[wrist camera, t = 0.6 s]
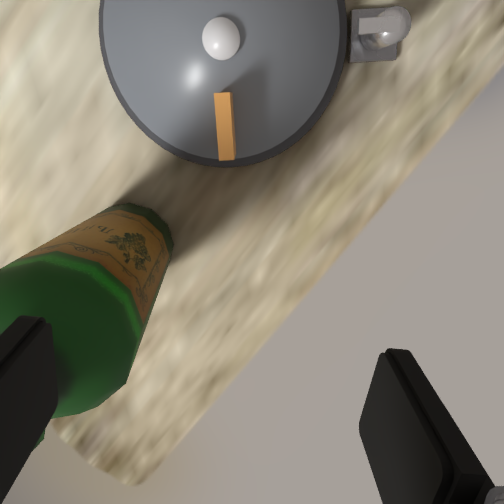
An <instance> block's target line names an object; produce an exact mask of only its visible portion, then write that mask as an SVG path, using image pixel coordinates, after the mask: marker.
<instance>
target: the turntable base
mask: <svg viewBox="0 0 504 504" xmlns="http://www.w3.org/2000/svg"><path fill="white" fill-rule="evenodd" d="M104 2H105V0H100V8H99V37H100V46H101V52H102V56H103V61H104V65H105V69H106V72H107V74H108V77H109V80H110V83H111V85H112V87H113V89H114V91H115V93H116V96H117V98H118V100H119V101H120V103H121V104H122V106H123V107H124V109H125V111H126V112H127V114H128V115H129V116H130V117H131V119H132V120H133V121H134V122H135V124H136V125H137V126H138V127H139V128H140V129H141V130H142V131H143V132H144V133H145V134H146V135H147V136H148V137H149V138H150V139H152V140H153V141H154V142H156V143H157V144H158V145H160V146H161V147H162V148H164V149H166V150H167V151H169V152H171V153H173V154H174V155H176V156H179V157H181V158H183V159H186V160H188V161H191V162H195V163H198V164H202V165H207V166H214V167H238V166H246V165H250V164H254V163H258V162H261V161H264V160H266V159H269V158H271V157H274V156H276V155H277V154H279V153H281V152H283V151H285V150H286V149H288V148H289V147H290V146H292V145H293V144H295V143H296V142H297V141H299V140H300V139H301V138H302V137H303V136H304V135H305V134H306V133H307V132H308V131H309V130H310V129H311V128H312V127H313V125H314V124H315V123H316V122H317V120H318V119H319V118H320V117H321V115H322V113H323V112H324V110H325V109H326V107H327V106H328V104H329V102H330V100H331V98H332V96H333V94H334V92H335V89H336V87H337V84H338V81H339V78H340V75H341V72H342V68H343V63H344V59H345V54H346V43H347V15H346V8H345V1H344V0H337V4H338V11H339V27H340V35H339V47H338V54H337V59H336V64H335V68H334V71H333V74H332V77H331V80H330V83H329V85H328V87H327V90H326V92H325V94H324V96H323V98H322V100H321V101H320V103H319V104H318V106H317V108H316V109H315V111H314V112H313V113H312V115H311V116H310V117H309V118H308V120H307V121H306V122H305V123H304V124H303V125H302V126H301V127H300V128H299V129H298V130H297V131H296V132H295V133H294V134H293V135H291V136H290V137H289V138H287V139H286V140H285V141H283V142H282V143H280V144H278V145H276V146H275V147H273V148H271V149H269V150H266V151H264V152H261V153H259V154H256V155H252V156H248V157H244V158H237V159H234V160H223V161H219V159H212V158H205V157H200V156H197V155H193V154H190V153H187V152H185V151H183V150H180V149H178V148H176V147H174V146H172V145H171V144H169V143H167V142H165V141H164V140H162V139H161V138H160V137H158V136H157V135H156V134H154V133H153V132H152V131H151V130H150V129H149V128H148V127H147V126H146V125H145V124H144V123H143V122H142V121H140V119H139V118H138V117H137V116H136V114H135V113H134V112H133V111H132V109H131V108H130V107H129V105H128V104H127V102H126V100H125V99H124V97H123V96H122V94H121V92H120V90H119V88H118V86H117V84H116V81H115V79H114V77H113V74H112V71H111V68H110V65H109V62H108V57H107V53H106V48H105V41H104V32H103V10H104Z"/></svg>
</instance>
